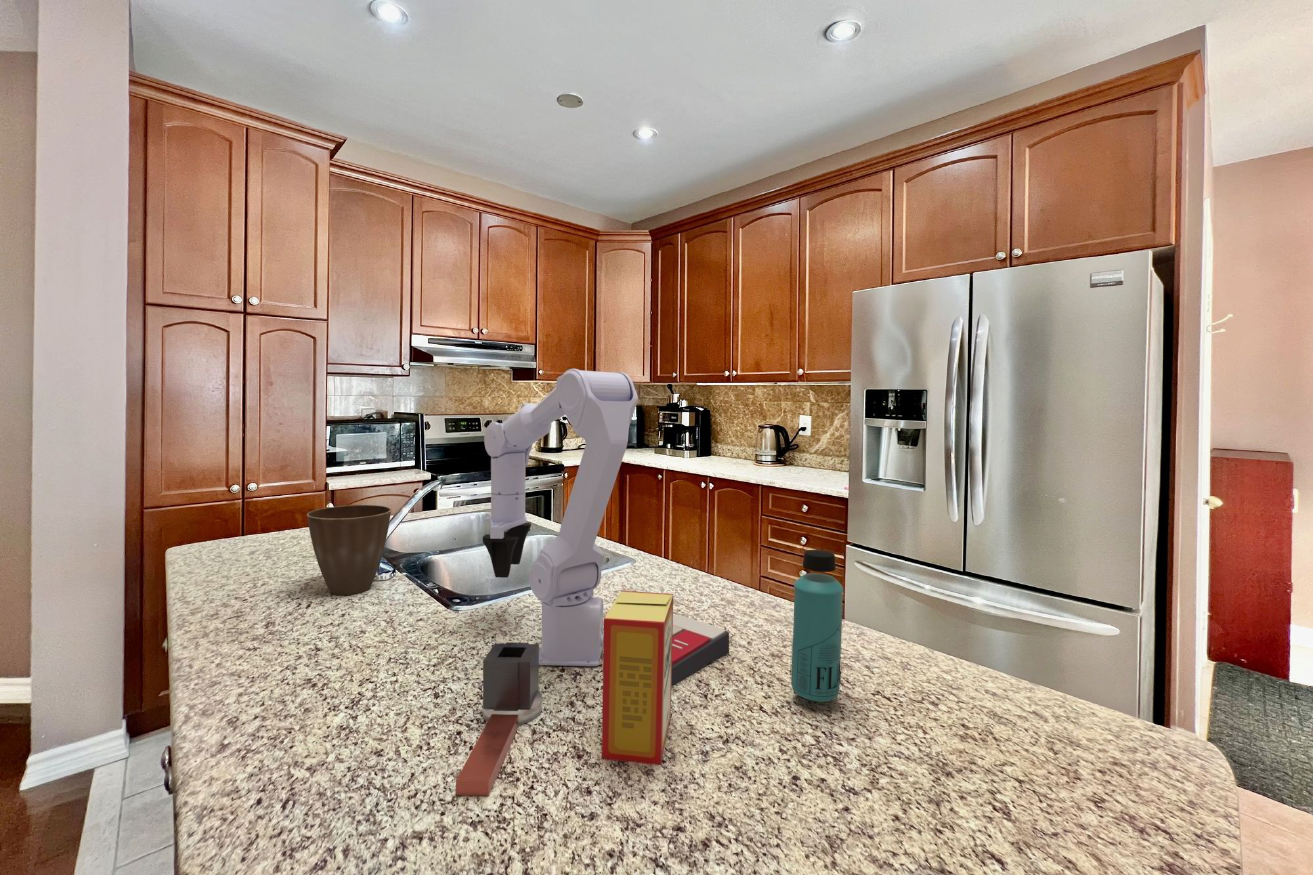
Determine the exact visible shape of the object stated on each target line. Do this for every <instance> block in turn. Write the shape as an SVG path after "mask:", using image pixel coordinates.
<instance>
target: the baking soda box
mask: <svg viewBox="0 0 1313 875" xmlns="http://www.w3.org/2000/svg"><path fill="white" fill-rule="evenodd" d="M618 593H619V594H618V595H617V596H616V598H615V600H614V602H613V603H612V605H611V606H610V608H609V609H608V611H607V613H606V615H605V616H604V617H603V635H604V638H603V648H602V652H603V654H602V656H603V657H602V714H601V715H602V716H601V718H602V720H601V721H602V722H601V725H602V726H601V728H602V729H601V732H602V733H601V740H602V741H601V759H603V760H610V761H611V760H613V761H621V762H630V763H631V762H632V763H640V764H641V763H642V764H650V765H659V766H661V765H662V761H663V756H664V752H665V746H666V742H667V737H668V732H669V727H670V723H671V718H672V686H671V682H672V635H673V615H674V593H665V592H664V593H663V592H647V591H636V590H635V591H634V590H633V591H631V590H620V592H618Z"/></svg>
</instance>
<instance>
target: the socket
mask: <svg viewBox="0 0 1313 875" xmlns="http://www.w3.org/2000/svg"><path fill="white" fill-rule="evenodd" d="M539 650H540V644H539V643H530V642H508V641H507V642H506V643H505V642H504V643H497V642H495V643H494V644H493V645H492V647H491V649H490V650H489V652H488V653H487V655H485V657H484V658H483V661H482V665H483V666H482V710H483V709H494V711H518V710H530V709H531V706H532V704H533V702H534V699H535V697H536V694H537V692H538V690H539V691H540V689H539V688H540V686H539V684H540V680H539V679H540V665H539Z"/></svg>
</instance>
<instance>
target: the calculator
mask: <svg viewBox="0 0 1313 875" xmlns="http://www.w3.org/2000/svg"><path fill="white" fill-rule="evenodd" d="M728 654H730V632H729V631H727V630H726V629H724V628H720V627H717V626H715V625H712V624H709V623H705V622H703V621H700V620H696V619H693V618H690V617H687V616H683V615H681V614H673V635H672V682H671V687H673V686H675V685H677V684H678V683H681V682H682V681H684V680H686V679H687V678H689V677H690V676H692V675H694V674H695V673H697V672H698V671H700V670H701V669H703V668H705V667H706V666H707V665H709V664H711V663H712V662H716V661H718V660H720V659H721V658H723V657H725V656H727V655H728Z"/></svg>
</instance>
